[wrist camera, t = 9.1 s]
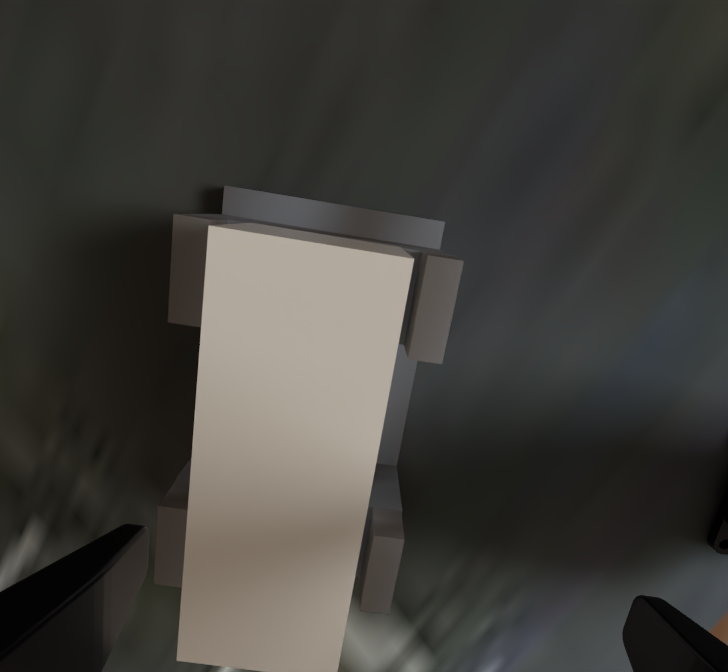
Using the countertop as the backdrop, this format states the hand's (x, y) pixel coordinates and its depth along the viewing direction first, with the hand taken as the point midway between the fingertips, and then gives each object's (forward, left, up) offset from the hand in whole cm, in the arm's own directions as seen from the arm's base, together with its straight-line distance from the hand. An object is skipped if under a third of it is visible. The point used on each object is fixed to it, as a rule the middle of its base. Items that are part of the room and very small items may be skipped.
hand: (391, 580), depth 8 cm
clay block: (+3, 0, -7) cm, 8 cm away
